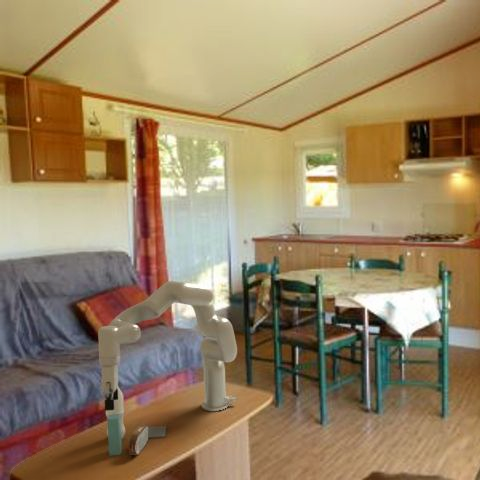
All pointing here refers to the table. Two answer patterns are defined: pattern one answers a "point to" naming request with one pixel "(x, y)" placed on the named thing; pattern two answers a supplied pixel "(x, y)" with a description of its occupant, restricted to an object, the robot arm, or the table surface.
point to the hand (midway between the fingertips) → (111, 404)
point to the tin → (138, 439)
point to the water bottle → (118, 411)
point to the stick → (114, 434)
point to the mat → (157, 432)
